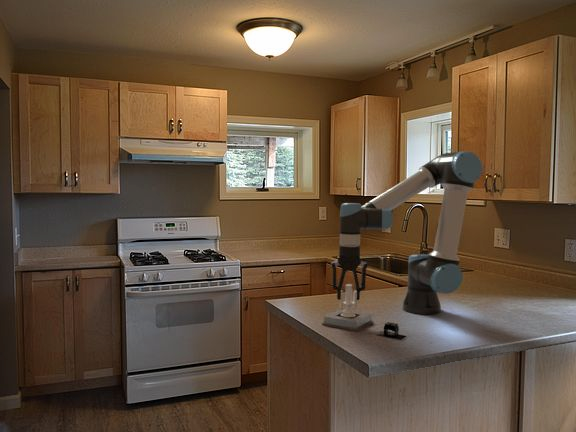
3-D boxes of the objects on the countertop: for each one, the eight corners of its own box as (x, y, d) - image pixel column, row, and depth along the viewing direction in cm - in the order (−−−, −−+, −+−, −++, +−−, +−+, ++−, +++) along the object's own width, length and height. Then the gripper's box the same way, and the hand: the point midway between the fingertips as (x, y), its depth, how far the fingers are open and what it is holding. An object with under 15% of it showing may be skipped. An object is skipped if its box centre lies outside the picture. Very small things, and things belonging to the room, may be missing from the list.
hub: (373, 322, 185) (373, 314, 185) (357, 331, 173) (357, 322, 173) (339, 316, 193) (339, 308, 192) (322, 324, 181) (322, 316, 181)
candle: (353, 313, 186) (354, 281, 185) (357, 317, 180) (358, 284, 180) (339, 313, 185) (340, 281, 184) (342, 317, 180) (343, 284, 179)
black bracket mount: (369, 335, 170) (370, 322, 170) (379, 331, 176) (379, 318, 176) (404, 343, 163) (404, 329, 163) (412, 337, 169) (413, 324, 169)
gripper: (371, 244, 185) (370, 306, 186) (325, 243, 185) (323, 305, 186) (375, 247, 177) (373, 311, 179) (326, 246, 177) (325, 310, 179)
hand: (348, 308), depth 183 cm, fingers closed on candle, 4 cm apart
